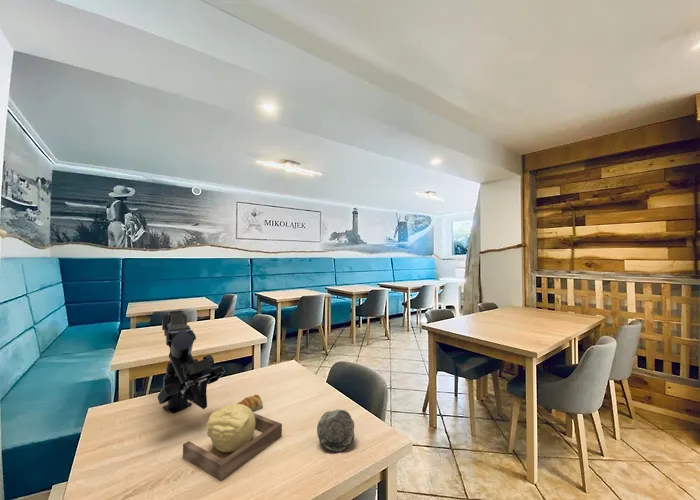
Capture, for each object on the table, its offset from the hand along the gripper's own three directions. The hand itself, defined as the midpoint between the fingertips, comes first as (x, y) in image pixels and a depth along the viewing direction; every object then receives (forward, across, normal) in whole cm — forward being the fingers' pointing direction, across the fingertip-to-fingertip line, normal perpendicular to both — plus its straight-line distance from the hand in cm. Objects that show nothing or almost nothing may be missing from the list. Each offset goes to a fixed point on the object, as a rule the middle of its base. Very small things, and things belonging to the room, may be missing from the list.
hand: (205, 407), depth 89 cm
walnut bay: (+14, 0, -4) cm, 15 cm away
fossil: (+31, +15, -21) cm, 40 cm away
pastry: (+6, +16, +4) cm, 17 cm away
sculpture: (+14, 0, -4) cm, 14 cm away
